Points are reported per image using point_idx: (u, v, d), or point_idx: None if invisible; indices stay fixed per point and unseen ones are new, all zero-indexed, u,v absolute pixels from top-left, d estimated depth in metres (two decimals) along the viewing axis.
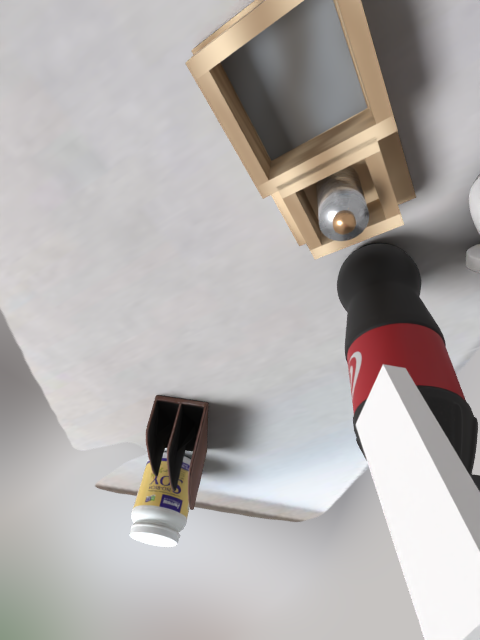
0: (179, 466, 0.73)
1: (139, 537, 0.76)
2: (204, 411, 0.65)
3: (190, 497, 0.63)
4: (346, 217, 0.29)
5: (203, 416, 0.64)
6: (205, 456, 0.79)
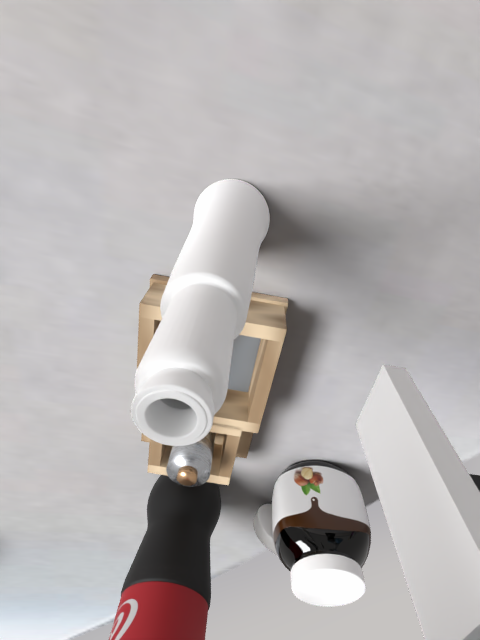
0: None
1: None
2: None
3: None
4: (191, 475, 0.32)
5: None
6: None
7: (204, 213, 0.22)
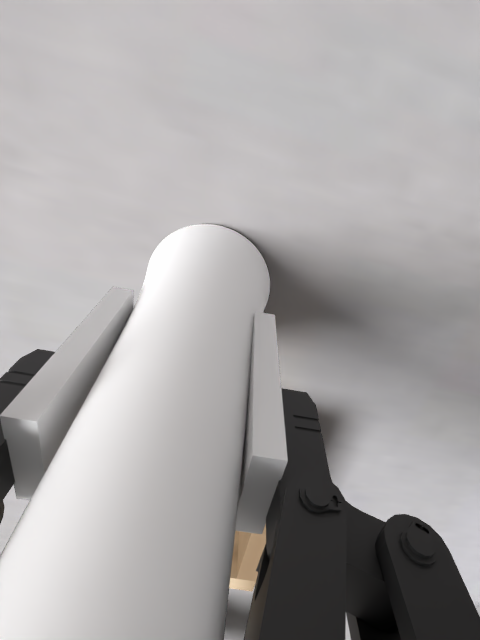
0: None
1: None
2: None
3: None
4: None
5: None
6: None
7: (141, 313, 0.11)
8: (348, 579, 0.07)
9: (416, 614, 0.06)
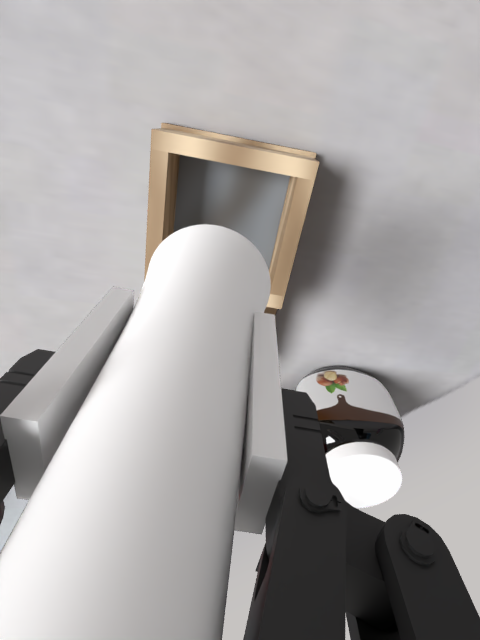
0: None
1: None
2: None
3: None
4: None
5: None
6: None
7: (141, 313, 0.11)
8: (348, 579, 0.07)
9: (415, 614, 0.06)
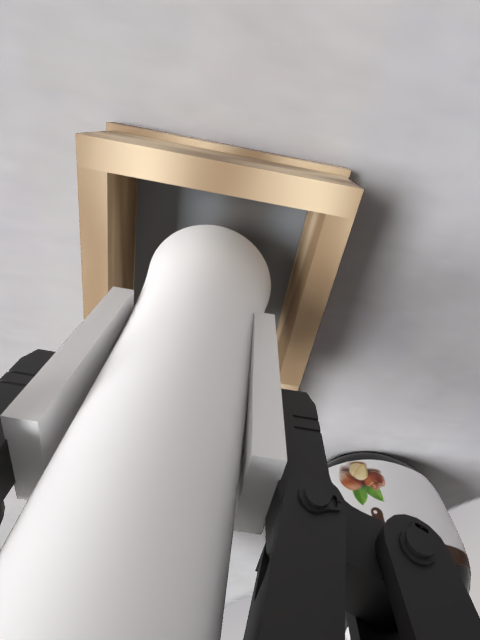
0: None
1: None
2: None
3: None
4: None
5: None
6: None
7: (141, 313, 0.11)
8: (348, 579, 0.07)
9: (415, 614, 0.06)
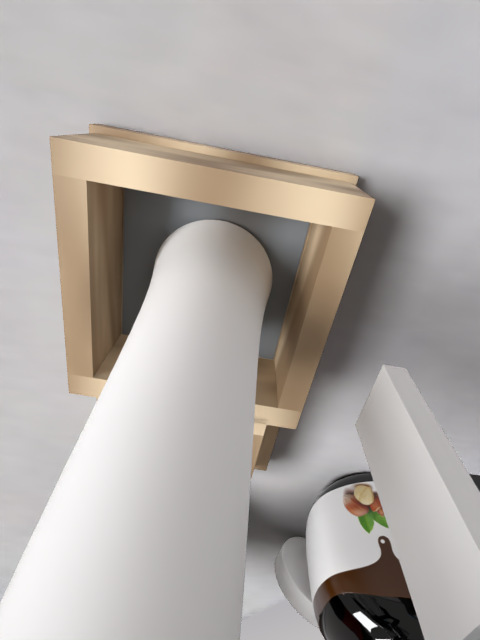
0: None
1: None
2: None
3: None
4: None
5: None
6: None
7: (156, 301, 0.12)
8: None
9: None
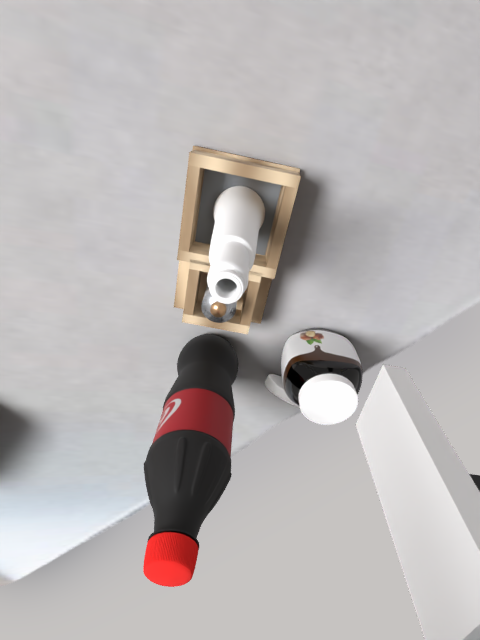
0: None
1: None
2: None
3: None
4: (222, 306, 0.40)
5: None
6: None
7: (225, 207, 0.35)
8: None
9: None
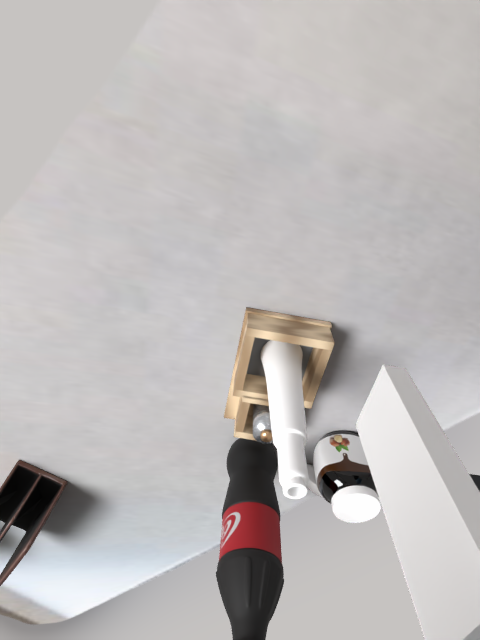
0: None
1: None
2: (61, 489, 0.68)
3: (6, 578, 0.61)
4: (270, 435, 0.50)
5: (58, 494, 0.67)
6: None
7: (276, 372, 0.45)
8: None
9: None
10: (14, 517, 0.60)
